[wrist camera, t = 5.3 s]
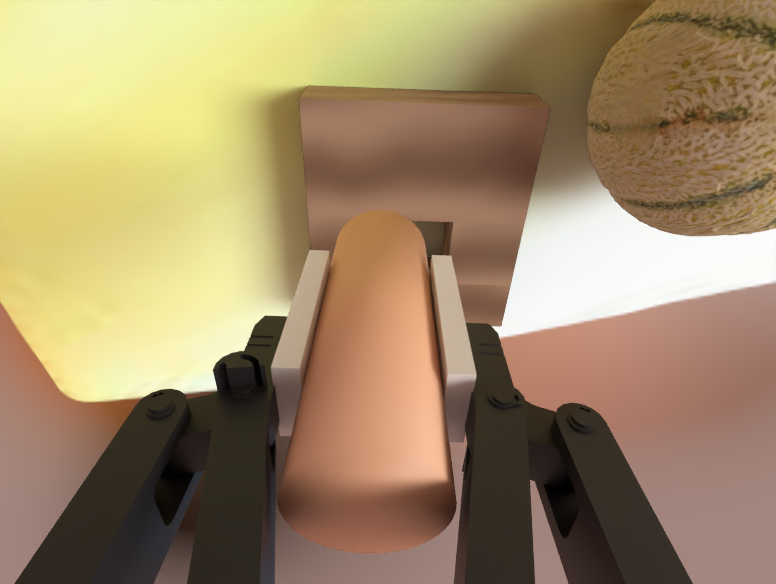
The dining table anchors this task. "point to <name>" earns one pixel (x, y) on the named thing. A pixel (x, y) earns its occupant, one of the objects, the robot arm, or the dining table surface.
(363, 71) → the dining table surface
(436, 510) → the peg
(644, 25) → the cantaloupe
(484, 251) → the socket block
